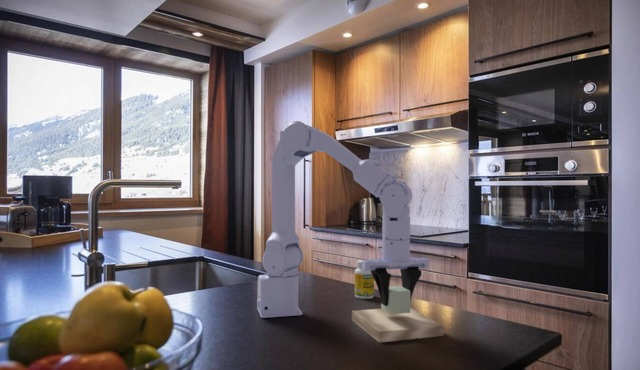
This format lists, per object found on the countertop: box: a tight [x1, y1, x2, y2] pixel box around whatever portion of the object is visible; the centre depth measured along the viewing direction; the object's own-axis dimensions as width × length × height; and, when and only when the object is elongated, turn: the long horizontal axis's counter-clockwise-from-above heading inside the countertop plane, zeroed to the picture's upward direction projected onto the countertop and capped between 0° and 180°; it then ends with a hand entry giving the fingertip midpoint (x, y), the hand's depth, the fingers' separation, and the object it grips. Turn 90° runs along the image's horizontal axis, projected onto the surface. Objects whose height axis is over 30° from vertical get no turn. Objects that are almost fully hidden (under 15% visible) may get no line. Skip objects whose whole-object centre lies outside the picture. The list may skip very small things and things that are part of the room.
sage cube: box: [380, 285, 411, 314], centre depth 87 cm, size 4×4×4 cm
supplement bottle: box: [354, 259, 375, 300], centre depth 112 cm, size 5×5×10 cm
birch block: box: [351, 307, 445, 343], centre depth 87 cm, size 14×14×2 cm
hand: (395, 303), depth 87 cm, fingers closed on sage cube, 4 cm apart
